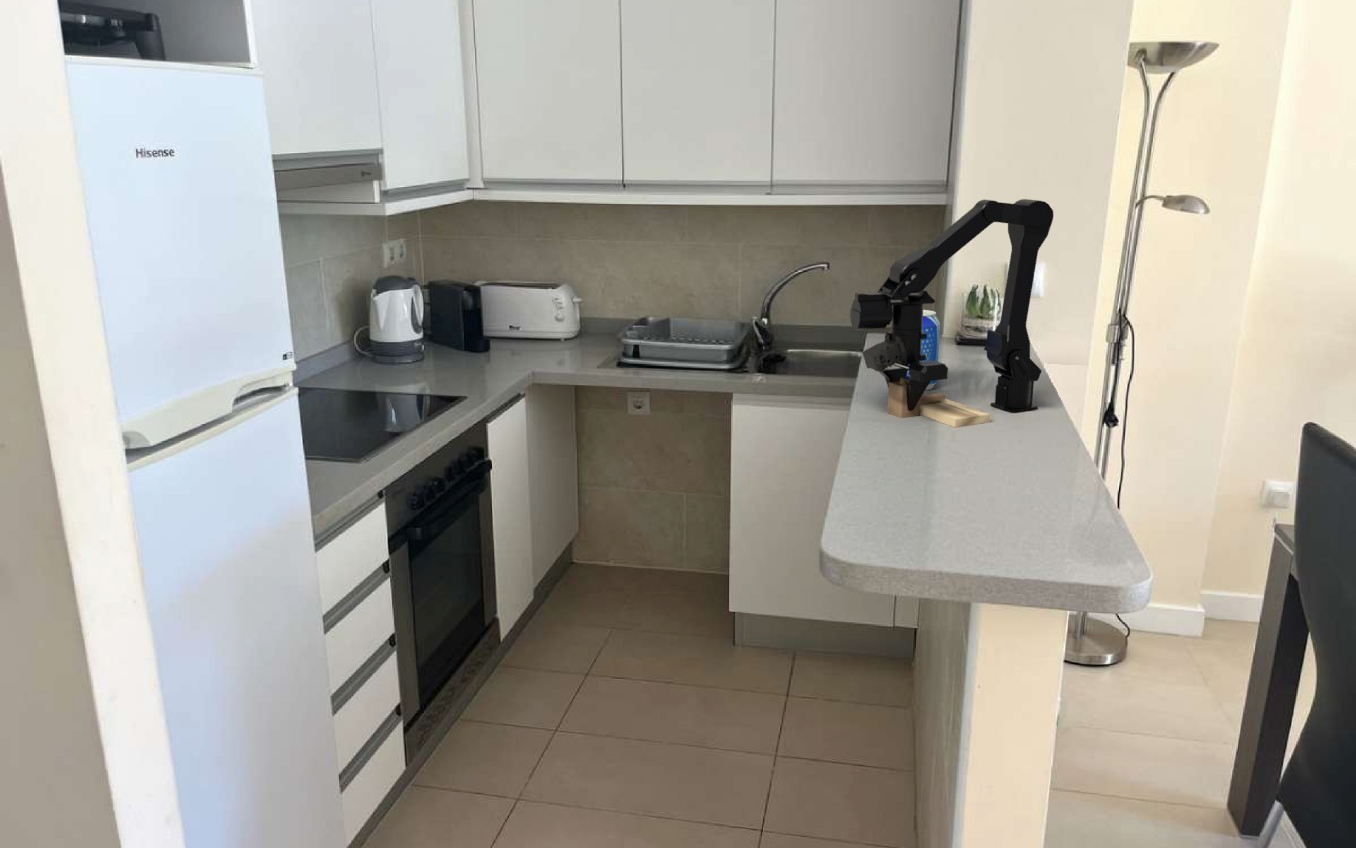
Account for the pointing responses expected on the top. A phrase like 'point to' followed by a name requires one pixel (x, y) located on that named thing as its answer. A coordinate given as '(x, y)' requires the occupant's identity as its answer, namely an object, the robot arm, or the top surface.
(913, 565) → the top surface
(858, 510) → the top surface
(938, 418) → the board
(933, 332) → the beer can
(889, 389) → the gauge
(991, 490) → the top surface
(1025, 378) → the robot arm
